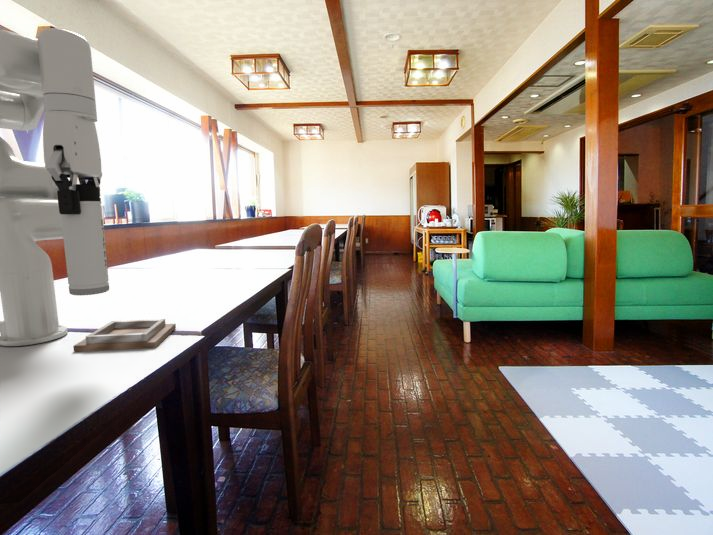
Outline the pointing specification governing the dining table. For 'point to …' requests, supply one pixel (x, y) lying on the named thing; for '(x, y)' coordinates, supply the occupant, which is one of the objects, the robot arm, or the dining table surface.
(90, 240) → the travel mug
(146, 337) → the plate
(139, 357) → the dining table surface
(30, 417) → the dining table surface
